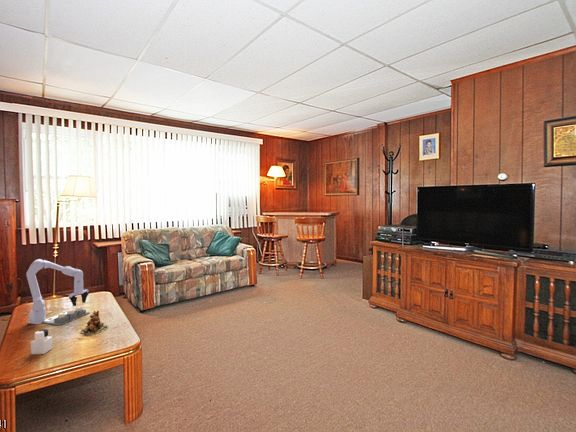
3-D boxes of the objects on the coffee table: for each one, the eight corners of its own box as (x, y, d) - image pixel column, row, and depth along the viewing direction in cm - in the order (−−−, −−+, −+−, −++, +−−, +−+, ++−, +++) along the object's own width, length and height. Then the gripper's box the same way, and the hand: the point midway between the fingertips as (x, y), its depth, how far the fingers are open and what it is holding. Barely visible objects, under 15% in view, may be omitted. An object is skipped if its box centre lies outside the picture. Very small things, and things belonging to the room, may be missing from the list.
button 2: (74, 312, 231) (74, 308, 230) (79, 310, 234) (79, 306, 234) (79, 312, 230) (79, 308, 229) (83, 310, 233) (83, 306, 233)
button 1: (56, 318, 217) (56, 314, 217) (61, 316, 221) (61, 312, 221) (60, 319, 216) (60, 315, 216) (66, 317, 220) (66, 313, 220)
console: (39, 322, 217) (38, 318, 217) (70, 311, 240) (70, 306, 240) (59, 325, 213) (58, 320, 213) (89, 313, 236) (89, 309, 236)
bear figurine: (75, 333, 201) (75, 315, 200) (97, 325, 215) (97, 307, 214) (90, 337, 196) (89, 318, 195) (111, 328, 210) (111, 310, 209)
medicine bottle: (39, 348, 179) (39, 328, 179) (52, 348, 180) (52, 327, 180) (30, 354, 172) (30, 333, 172) (44, 354, 173) (43, 333, 172)
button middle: (65, 315, 224) (65, 311, 224) (71, 313, 228) (70, 309, 228) (70, 315, 223) (70, 311, 223) (75, 313, 227) (75, 309, 227)
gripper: (74, 289, 223) (74, 307, 224) (91, 284, 237) (91, 301, 238) (66, 288, 225) (66, 307, 225) (84, 283, 239) (84, 300, 239)
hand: (79, 304), depth 232 cm, fingers open, 7 cm apart
